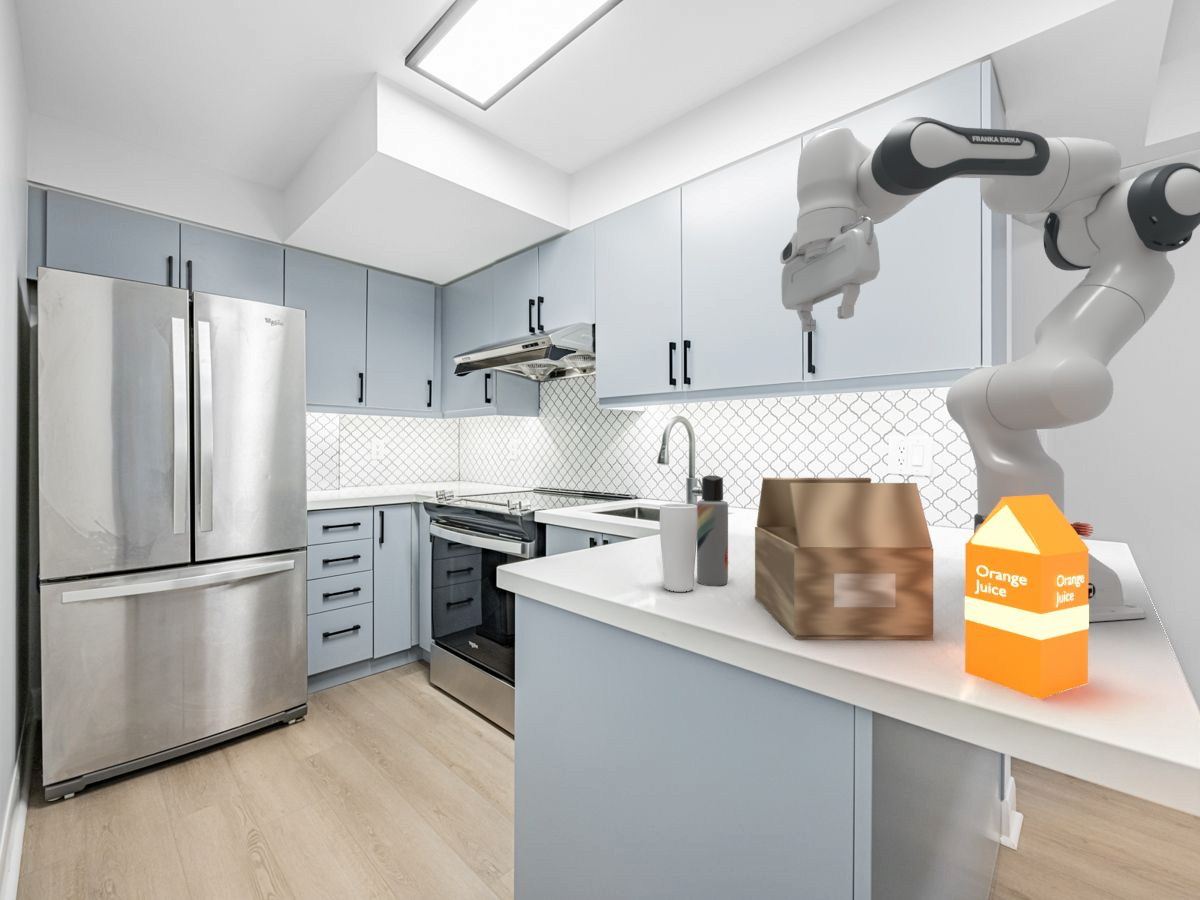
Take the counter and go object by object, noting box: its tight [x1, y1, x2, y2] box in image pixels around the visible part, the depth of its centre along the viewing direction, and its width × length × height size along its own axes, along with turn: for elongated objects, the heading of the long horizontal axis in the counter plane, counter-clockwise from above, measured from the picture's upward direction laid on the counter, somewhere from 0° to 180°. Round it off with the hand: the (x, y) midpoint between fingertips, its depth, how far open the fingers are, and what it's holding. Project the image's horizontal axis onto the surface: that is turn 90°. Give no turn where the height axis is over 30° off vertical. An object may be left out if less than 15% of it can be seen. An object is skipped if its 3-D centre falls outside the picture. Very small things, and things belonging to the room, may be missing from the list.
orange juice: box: [964, 495, 1090, 700], centre depth 61 cm, size 8×9×20 cm
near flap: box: [789, 482, 934, 549], centre depth 75 cm, size 17×9×1 cm
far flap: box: [756, 477, 872, 527], centre depth 91 cm, size 17×9×1 cm
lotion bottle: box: [696, 475, 729, 587], centre depth 104 cm, size 6×6×20 cm
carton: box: [754, 526, 934, 641], centre depth 83 cm, size 18×20×12 cm
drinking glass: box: [659, 503, 698, 593], centre depth 99 cm, size 7×7×15 cm
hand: (826, 324), depth 88 cm, fingers open, 8 cm apart
